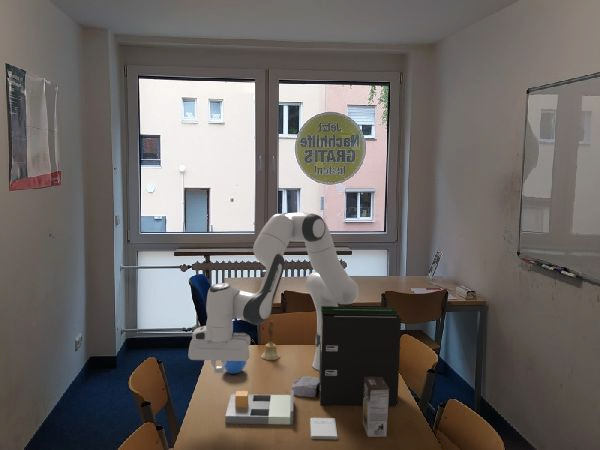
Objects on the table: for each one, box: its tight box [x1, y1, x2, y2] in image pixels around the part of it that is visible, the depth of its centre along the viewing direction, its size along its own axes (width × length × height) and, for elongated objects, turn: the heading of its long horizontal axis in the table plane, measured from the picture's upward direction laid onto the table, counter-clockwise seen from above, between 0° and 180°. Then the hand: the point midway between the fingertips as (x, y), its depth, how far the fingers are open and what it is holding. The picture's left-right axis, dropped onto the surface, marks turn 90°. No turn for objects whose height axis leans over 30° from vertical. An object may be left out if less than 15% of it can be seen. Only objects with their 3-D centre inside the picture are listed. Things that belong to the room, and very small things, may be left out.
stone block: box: [291, 375, 319, 398], centre depth 210 cm, size 12×5×10 cm
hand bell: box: [260, 320, 281, 361], centre depth 244 cm, size 8×8×16 cm
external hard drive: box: [309, 417, 338, 440], centre depth 180 cm, size 2×8×12 cm
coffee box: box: [362, 377, 389, 438], centre depth 179 cm, size 9×6×16 cm
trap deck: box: [224, 389, 294, 425], centre depth 191 cm, size 22×17×4 cm
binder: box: [318, 306, 402, 407], centre depth 202 cm, size 27×15×32 cm, turn 90°
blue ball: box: [221, 361, 247, 375], centre depth 226 cm, size 10×12×10 cm
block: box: [235, 390, 249, 408], centre depth 191 cm, size 4×4×4 cm
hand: (218, 372), depth 189 cm, fingers closed
